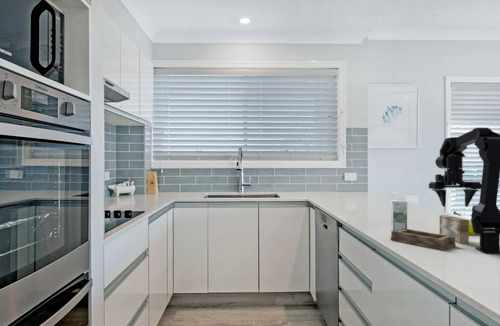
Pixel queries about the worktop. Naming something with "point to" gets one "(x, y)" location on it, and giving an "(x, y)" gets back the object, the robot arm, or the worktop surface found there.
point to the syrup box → (398, 215)
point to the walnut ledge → (423, 239)
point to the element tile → (472, 229)
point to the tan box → (455, 228)
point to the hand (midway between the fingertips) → (455, 206)
